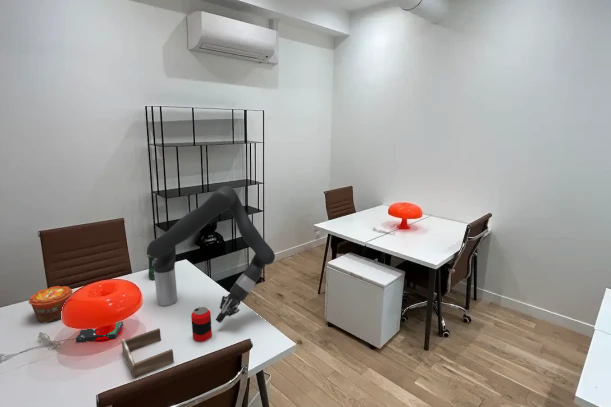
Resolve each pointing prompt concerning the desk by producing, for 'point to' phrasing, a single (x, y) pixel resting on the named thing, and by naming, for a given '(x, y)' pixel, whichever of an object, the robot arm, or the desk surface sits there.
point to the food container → (49, 303)
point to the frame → (149, 363)
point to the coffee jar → (151, 266)
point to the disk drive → (90, 335)
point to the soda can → (201, 324)
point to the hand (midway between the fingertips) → (217, 321)
